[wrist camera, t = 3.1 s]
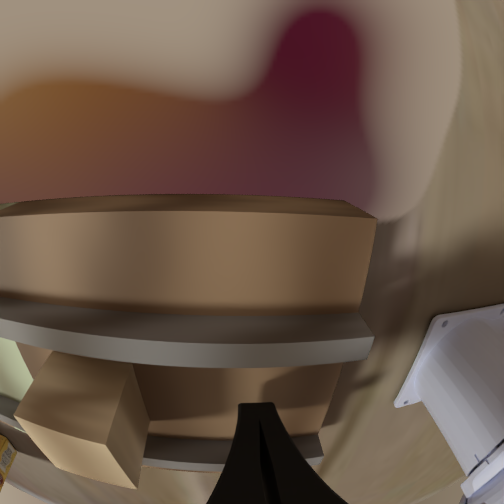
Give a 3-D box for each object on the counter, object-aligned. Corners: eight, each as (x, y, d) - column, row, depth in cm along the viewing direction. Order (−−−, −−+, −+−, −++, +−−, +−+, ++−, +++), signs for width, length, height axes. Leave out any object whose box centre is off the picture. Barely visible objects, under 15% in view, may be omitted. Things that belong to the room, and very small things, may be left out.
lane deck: (343, 200, 11) (401, 232, 7) (295, 434, 17) (307, 486, 13) (-91, 219, 9) (-124, 236, 4) (-37, 374, 14) (-56, 401, 10)
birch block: (131, 363, 10) (105, 444, 6) (150, 420, 11) (137, 489, 8) (52, 351, 10) (13, 415, 6) (79, 408, 11) (56, 467, 7)
